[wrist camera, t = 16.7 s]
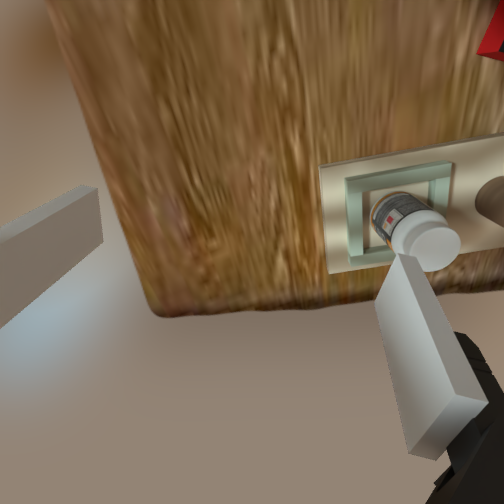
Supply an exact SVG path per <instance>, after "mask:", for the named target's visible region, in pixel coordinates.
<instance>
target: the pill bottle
mask: <svg viewBox="0 0 504 504" xmlns="http://www.w3.org/2000/svg"><path fill="white" fill-rule="evenodd" d="M370 223H371V226H372V228H373V229H374V230H375V232H376V233H377V234H378V235H379V236H380V237H381V238H382V240H383V241H384V242H385V243H386V244H387V245H388V246H389V247H390V249H391V250H392V251H393V252H394V253H395V254H396V255H397V253H400V254H405V255H409V256H414V257H416V258H417V260H418V262H419V264H420V266H421V268H422V270H423V271H425V272H432V271H437V270H440V269H442V268H444V267H446V266H447V265H449V264H450V263H451V262H452V261H453V260H454V259H455V258H456V256H457V255H458V253H459V250H460V246H461V241H460V238H459V236H458V234H457V233H456V232H455V231H454V230H453V229H451V228H450V227H449V226H448V223H447V221H446V219H445V218H444V217H443V216H442V215H441V214H440V213H438V212H437V211H435V210H434V209H432V208H431V207H429V206H428V205H426V204H425V203H423V202H422V201H420V200H419V199H417V198H416V197H415V196H413V195H411V194H409V193H407V192H404V191H393V192H389V193H387V194H385V195H383V196H382V197H380V198H379V199H378V200H377V201H376V202H375V204H374V205H373V207H372V209H371V212H370Z"/></svg>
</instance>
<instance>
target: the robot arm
mask: <svg viewBox="0 0 504 504" xmlns="http://www.w3.org/2000/svg"><path fill="white" fill-rule="evenodd" d="M101 243H103V233H102V224H101V215H100V206H99V199H98V189H97V188H93V187H89V186H84V185H80V186H78V187H76V188H74V189H72V190H70V191H68V192H67V193H65V194H63V195H61V196H59V197H57V198H55V199H53V200H51V201H49V202H48V203H45V204H44V205H42V206H40V207H38V208H36V209H34V210H32V211H30V212H28V213H26V214H25V215H23V216H21V217H19V218H17V219H15V220H13V221H11V222H9V223H7V224H5V225H4V226H2V227H0V329H1V328H2V327H3V326H4V325H5V324H6V323H8V322H9V321H10V320H11V319H12V318H14V316H16V315H17V314H18V313H20V312H21V311H22V310H23V309H24V308H25V307H27V306H28V305H29V304H30V303H31V302H33V301H34V300H35V299H36V298H37V297H39V296H40V295H41V294H42V293H43V292H44V291H46V290H47V289H48V288H49V287H50V286H51V285H52V284H54V283H55V282H56V281H58V280H59V279H60V278H61V277H62V276H63V275H65V274H66V273H67V272H68V271H69V270H71V269H72V268H73V267H74V266H75V265H76V264H78V263H79V262H80V261H81V260H82V259H84V258H85V257H86V256H87V255H88V254H90V253H91V252H92V251H93V250H94V249H95V248H96V247H98V246H99V245H100V244H101ZM374 305H375V309H376V314H377V318H378V323H379V327H380V331H381V335H382V340H383V344H384V348H385V353H386V357H387V362H388V366H389V370H390V375H391V379H392V383H393V388H394V392H395V396H396V401H397V405H398V410H399V414H400V418H401V423H402V427H403V431H404V435H405V440H406V444H407V448H408V453H409V454H412V455H416V456H420V457H424V458H428V459H432V460H435V461H436V460H437V459H438V458H439V457H440V456H441V455H442V454H443V453H444V451H445V450H446V449H447V452H448V455H449V459H450V461H451V466H449V468H448V469H447V470H446V471H445V472H444V473H443V474H442V475H441V476H440V477H439V478H438V479H437V480H436V481H435V482H434V484H435V485H436V487H435V489H434V490H433V492H432V494H431V495H430V497H429V499H428V500H427V502H426V503H425V504H504V393H503V391H502V389H501V388H500V386H499V384H498V382H497V380H496V378H495V377H494V375H492V371H491V370H490V368H489V366H488V364H487V363H485V362H486V361H485V359H484V357H483V355H482V353H481V351H480V350H479V348H478V347H477V346H476V345H475V344H474V343H473V341H472V340H471V339H470V338H469V337H468V336H467V335H466V334H463V333H458V332H454V331H453V330H452V328H451V326H450V324H449V322H448V320H447V318H446V316H445V314H444V312H443V310H442V308H441V306H440V304H439V302H438V300H437V298H436V296H435V294H434V292H433V290H432V288H431V286H430V284H429V282H428V280H427V278H426V276H425V274H424V272H423V270H422V268H421V266H420V264H419V262H418V260H417V258H416V257H414V256H409V255H405V254H400V253H397V255H396V257H395V259H394V261H393V263H392V266H391V268H390V270H389V272H388V274H387V276H386V279H385V281H384V283H383V285H382V287H381V290H380V292H379V294H378V296H377V298H376V300H375V303H374Z"/></svg>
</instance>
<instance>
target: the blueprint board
mask: <svg viewBox="0 0 504 504" xmlns="http://www.w3.org/2000/svg"><path fill="white" fill-rule="evenodd" d="M318 166H319V178H320V190H321V202H322V214H323V226H324V238H325V250H326V262H327V269H328V272H329V274H332V273H339V272H345V271H351V270H358V269H364V268H371V267H377V266H384V265H390V264H392V263H393V261H394V259H395V257H396V254H395V253H394V252H393V251H392V250H391V249H390V247H389V246H388V245H387V244H386V243H385V242H384V241H383V240H382V238H381V237H380V236H379V235H378V234H377V233H376V232H375V230H374V229H373V228H372V226H371V223H370V212H371V209H372V207H373V205H374V204H375V202H376V201H377V200H378V199H379V198H380V197H382V196H383V195H385V194H387V193H389V192H393V191H404V192H407V193H409V194H411V195H413V196H415V197H416V198H417V199H419V200H420V201H422V202H423V203H425V204H426V205H428V206H429V207H431V208H432V209H434V210H435V211H437V212H438V213H440V214H441V215H442V216H443V217H444V218H445V219H446V221H447V223H448V226H449V227H450V228H451V229H453V230H454V231H455V232H456V233H457V234H458V236H459V238H460V241H461V246H460V250H459V253H458V254H462V253H468V252H474V251H481V250H487V249H494V248H500V247H504V132H501V133H495V134H490V135H484V136H479V137H473V138H468V139H462V140H457V141H451V142H446V143H440V144H435V145H429V146H423V147H418V148H412V149H407V150H401V151H396V152H390V153H385V154H379V155H374V156H368V157H363V158H357V159H352V160H346V161H340V162H335V163H329V164H324V165H318Z"/></svg>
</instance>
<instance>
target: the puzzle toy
mask: <svg viewBox="0 0 504 504" xmlns="http://www.w3.org/2000/svg"><path fill="white" fill-rule="evenodd" d="M476 54H478V55H482V56H485V57H489V58H493V59H497V60H501V61H504V0H500V2H499V5H498V7H497V9H496V11H495V13H494V16H493V18H492V20H491V22H490V25H489V27H488V29H487V31H486V33H485V36H484V38H483V40H482V42H481V44H480V47H479V49H478V51H477V53H476Z"/></svg>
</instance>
